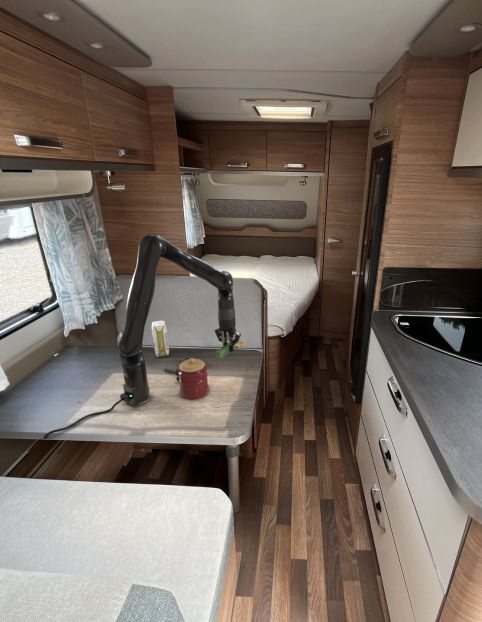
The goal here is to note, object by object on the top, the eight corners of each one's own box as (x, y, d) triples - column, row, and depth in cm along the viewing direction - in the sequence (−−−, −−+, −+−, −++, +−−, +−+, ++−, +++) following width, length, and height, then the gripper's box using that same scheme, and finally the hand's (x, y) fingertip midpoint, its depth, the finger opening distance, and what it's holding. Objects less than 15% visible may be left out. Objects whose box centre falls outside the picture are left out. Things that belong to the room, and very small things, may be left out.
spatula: (223, 360, 148) (222, 353, 147) (213, 357, 150) (212, 350, 149) (246, 343, 164) (246, 336, 163) (236, 340, 166) (236, 334, 165)
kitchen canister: (212, 395, 155) (209, 361, 148) (183, 402, 149) (179, 368, 143) (204, 381, 165) (201, 349, 159) (177, 388, 160) (173, 355, 153)
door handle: (156, 372, 168) (182, 377, 162) (182, 355, 185) (206, 359, 179) (157, 378, 169) (183, 383, 163) (183, 360, 186) (207, 364, 180)
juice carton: (168, 349, 196) (164, 319, 190) (170, 355, 189) (166, 325, 182) (154, 351, 194) (150, 321, 187) (155, 358, 186) (151, 327, 179)
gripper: (208, 316, 149) (211, 351, 155) (234, 322, 143) (236, 357, 150) (219, 311, 155) (221, 344, 162) (244, 316, 150) (245, 350, 156)
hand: (228, 350), depth 156 cm, fingers closed on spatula, 2 cm apart
